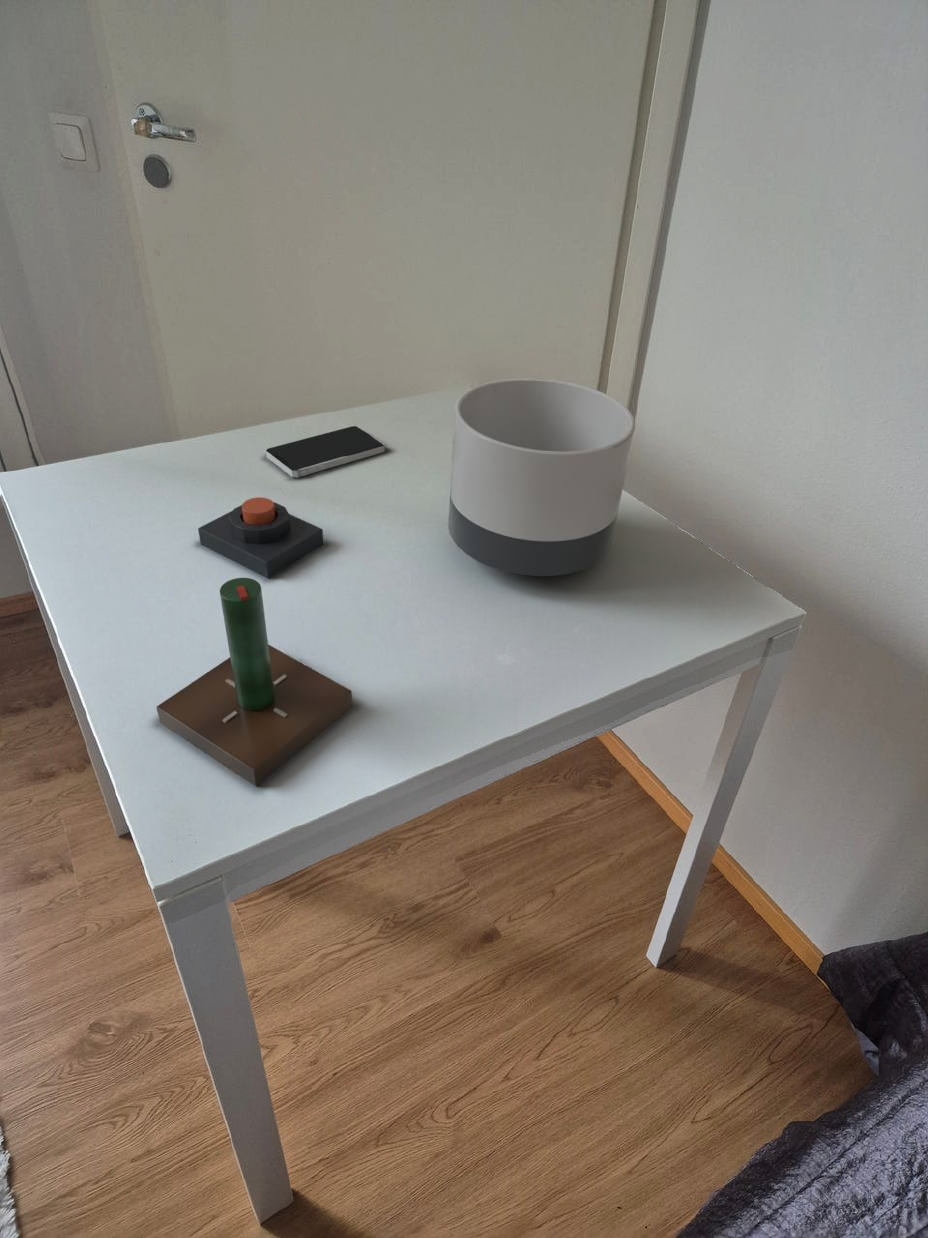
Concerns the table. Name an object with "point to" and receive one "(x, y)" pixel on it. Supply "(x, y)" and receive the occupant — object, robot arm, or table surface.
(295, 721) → the dial base
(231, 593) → the dial knob
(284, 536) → the button box
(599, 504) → the planter
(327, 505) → the table surface
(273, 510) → the button
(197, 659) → the table surface
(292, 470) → the smartphone
